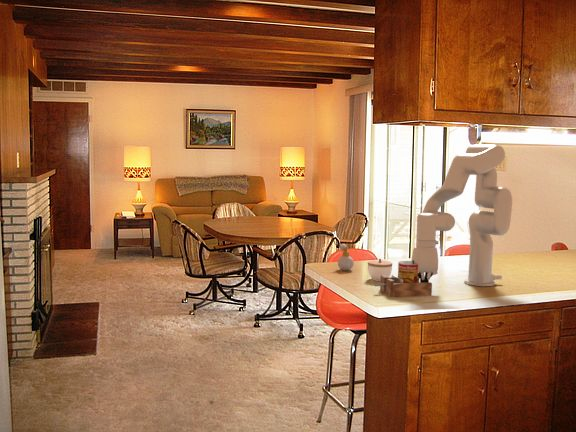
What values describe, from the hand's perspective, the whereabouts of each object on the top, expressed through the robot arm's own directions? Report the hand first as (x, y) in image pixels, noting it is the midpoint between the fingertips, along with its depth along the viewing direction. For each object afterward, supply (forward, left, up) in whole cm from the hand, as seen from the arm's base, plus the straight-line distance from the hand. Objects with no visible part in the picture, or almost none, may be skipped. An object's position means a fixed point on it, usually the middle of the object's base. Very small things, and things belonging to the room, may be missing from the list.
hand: (424, 288), depth 249 cm
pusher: (+16, 0, -1) cm, 16 cm away
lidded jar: (+10, -25, -2) cm, 27 cm away
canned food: (+7, 0, -1) cm, 7 cm away
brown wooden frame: (+8, 0, -1) cm, 8 cm away
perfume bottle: (+19, -49, -2) cm, 53 cm away
